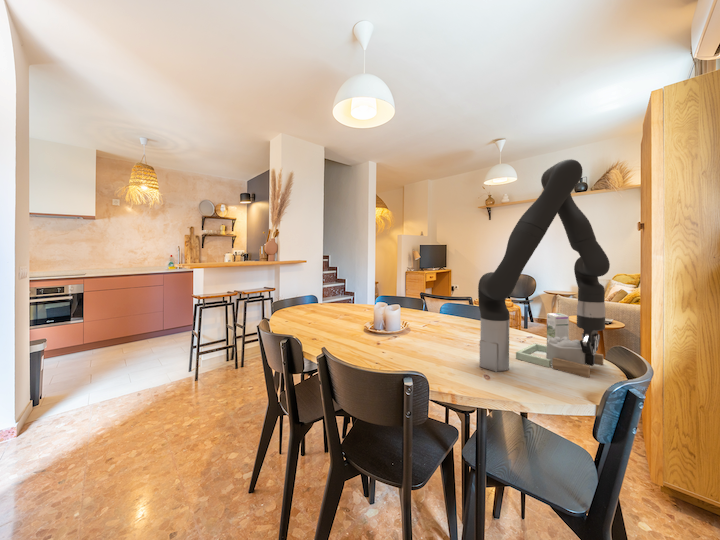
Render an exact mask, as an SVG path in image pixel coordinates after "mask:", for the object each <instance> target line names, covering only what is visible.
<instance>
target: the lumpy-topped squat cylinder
mask: <svg viewBox="0 0 720 540" xmlns="http://www.w3.org/2000/svg"><path fill="white" fill-rule="evenodd" d="M546 346H547V353H546V359H549V360H551V364H552V358H559V359H563V360H567V361H572V362H576V363H580V364H584V365H586V363H585V359H586V354H585V353H583V351H582V347H581V344H580V340H579V339H572V340H571V339H570V337H569V338H567V337H563V338H559V337H554V338H551V339H548V340H547V339H546Z"/></svg>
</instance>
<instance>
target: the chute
mask: <svg viewBox="0 0 720 540" xmlns="http://www.w3.org/2000/svg"><path fill="white" fill-rule="evenodd" d="M595 364H596V365H600V366H603V365H604V354H603V353H597V352H596V354H595ZM595 364H594V365H595ZM551 368H552V369H553V368H554V370H557V369H558V370H557V371H562V372H565V373H569V374H573V375H576V376H580V377H584V378H589V377H590V374H591V373H590V372H591V366H590V365H584V364H580V363H576V362H572V361H567V360H563V359H559V358H552V367H551Z"/></svg>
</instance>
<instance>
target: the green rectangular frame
mask: <svg viewBox="0 0 720 540" xmlns="http://www.w3.org/2000/svg"><path fill="white" fill-rule="evenodd" d="M537 351H539V352H543V353H546V354H547V345H545V344H540V343H533V344H531V345H528V346H526V347H524V348H523V349H520V350H517V351H516V352H515V359H516V360H520V361H524V362H527V363H530V364H535V365H539V366H542V365H543V366H542V367H546V368H550V366H551V360H549V359H547V358H545V357H541V356H537V355H532V354H533V353H534V352H537Z"/></svg>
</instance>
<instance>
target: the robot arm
mask: <svg viewBox="0 0 720 540" xmlns="http://www.w3.org/2000/svg"><path fill="white" fill-rule="evenodd" d="M582 176H583V166H582V165H581V163H580V162H579V161H578V160H576V159H573V158H571V159H565V160H564V159H563V160H561V161H560V162H559V161H558V162H557V163H555V164H553V166H550V167H549V168H547V169H546V170H545V171H544V172H543V173H542V175H541V179H540V182H541V186H542V189H543V190H542V192H541V194H540V195H539V196H538V198H537V199H536V200H535V201H534V202H533V203H532V204H531V205H530V206H529V207H528V209H527V210H526V211H525V212H524V213H523V214H522V215H521V217H520V218H519V220H518V221H517V223H516V224H515V226H514V227H513V229H512V232H511V233H510V235H509V237H508V241H507V244H506V250H505V253H504V256H503V258H502V260H501V262H500V263H499V265H497V268H496V269H495V270H494V271H493V272H492V271H491V272H486V273H484V274H483V275H482V276H481V277H480V279H479V280H478V286H477V287H478V288H477V289H478V290H477V291H478V292H477V294H478V308H479V309H478V310H479V311H480V334H479V335H480V336H479V337H480V339H479V367H481V368H483V369H486V370H490V371H493V372H495V373H497V372H504V371H508V370H509V369H510V310H509V309H508V307H507V304H506V299H507V298H509V297H510V296H511V295H512V294H513V291H514V289H515V287H516V285H517V283H518V282H519V279H520V276H521V274H522V273H523V272H524V271H523V270H524V268H525V267H526V265H527V264H528V262H529V261H530V259H531V257H532V256H533V254H534V253H535V251H536V249H537V248H538V246H539V244H540V243H541V241H542V240H543V238H544V236H545V235H546V234H547V231H548V230H549V228H550V226H551V224H552V223H553V222H554V219H555V218H556V216H557V215H558V217H559V219H560V222H561V223H562V225H563V228H564V230H565V233H566V237H567V239H568V243H569V245H570V247H571V249H572V250H574V251H576V252H577V253H578V255H579V256H580V257H577V259H576V261H575V263H574V266H573V270H574V276H575V280H576V285H577V304H576V327H578V328H579V329H582V330H583V332H582V333H581V339H580V340H579V341H580V344H581V347H582V351H583V353H585V354H586V359H585V363H586V365H589V366H590V367H593V366H595V354H596V353H597V352H598V351H599V350H598V349H599V344H600V341H601V335H600V333H599V331H605V329H606V303H605V294H606V290H605V287H604V285H603V284H601V283H600V281H599V277H603V276H605V275H607V274H608V272H609V270H610V265H611V263H610V259H609V258H608V256H607V254H606V251H604V249H603V247H602V246H601V245H600V243H599V242H598V241H597V238H596V235H595V232H594V229H593V226H592V224H591V222H590V221H589V219H588V217H587V216H586V214H585V213H583V211H582V210H581V209H580V208H579V207H578V205H577V204H576V202H575V201H574V199H573V197H572V192H573V191H574V189H575V188H576V186H578V184H579V182H580V181H581V179H582Z"/></svg>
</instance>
